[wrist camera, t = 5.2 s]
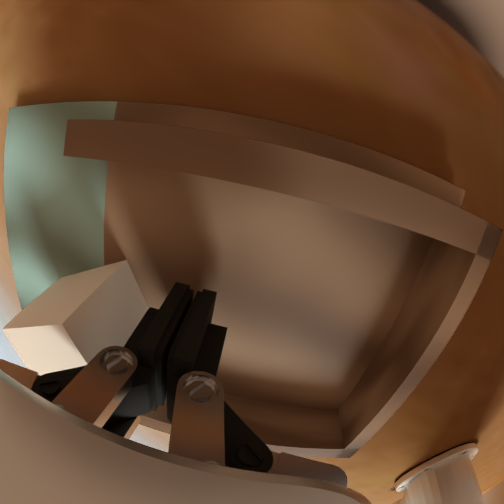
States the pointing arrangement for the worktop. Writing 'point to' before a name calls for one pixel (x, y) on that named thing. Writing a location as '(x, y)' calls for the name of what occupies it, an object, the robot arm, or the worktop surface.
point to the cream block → (78, 318)
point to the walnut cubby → (255, 252)
